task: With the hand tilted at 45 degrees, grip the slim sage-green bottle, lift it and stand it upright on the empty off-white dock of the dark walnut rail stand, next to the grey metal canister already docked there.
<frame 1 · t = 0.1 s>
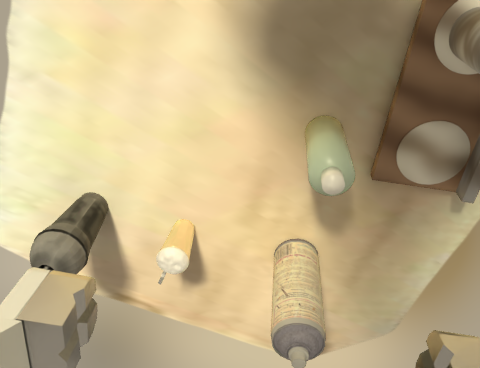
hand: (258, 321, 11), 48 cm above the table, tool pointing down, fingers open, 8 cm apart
rail stand: (447, 98, 56), on the table
aerosol can: (296, 255, 70), on the table
slim bottle: (324, 133, 59), on the table
milkshake: (183, 228, 69), on the table
beverage cup: (94, 204, 69), on the table
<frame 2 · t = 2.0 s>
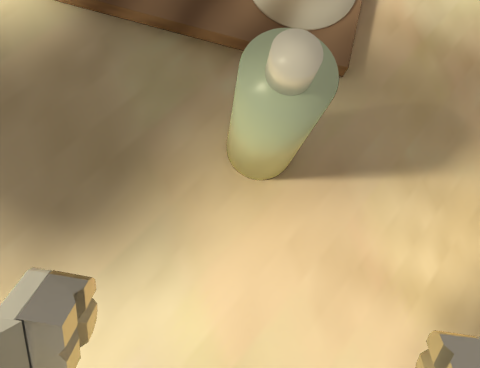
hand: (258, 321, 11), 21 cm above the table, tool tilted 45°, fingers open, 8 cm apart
slim bottle: (259, 147, 34), on the table
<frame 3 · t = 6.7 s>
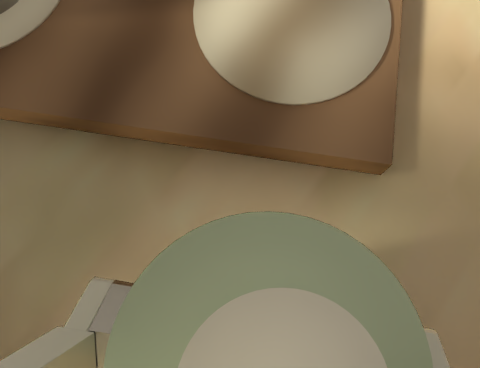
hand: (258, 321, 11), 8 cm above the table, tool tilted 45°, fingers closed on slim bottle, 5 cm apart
rail stand: (147, 14, 22), on the table
slim bottle: (246, 330, 18), on the table, touching gripper
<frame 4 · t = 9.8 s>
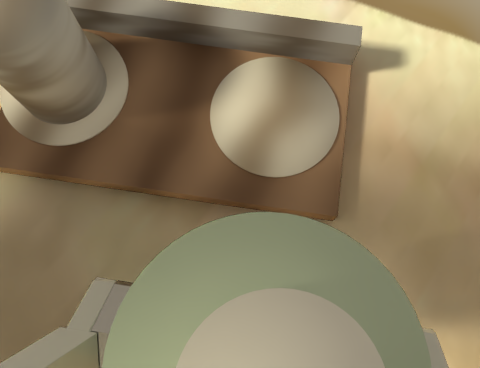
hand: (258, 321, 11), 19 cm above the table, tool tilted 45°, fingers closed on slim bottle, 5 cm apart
rail stand: (178, 110, 33), on the table
slim bottle: (246, 330, 18), point 11 cm above the table, touching gripper
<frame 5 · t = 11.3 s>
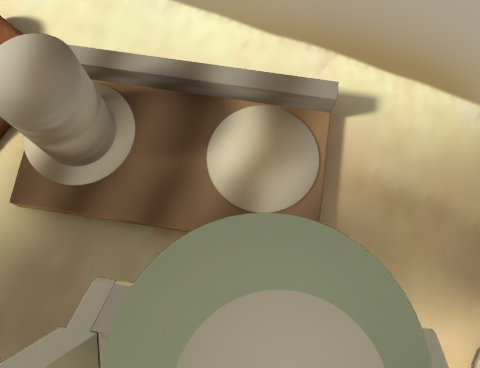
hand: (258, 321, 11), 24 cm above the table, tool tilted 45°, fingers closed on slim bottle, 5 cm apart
rail stand: (179, 151, 38), on the table
slim bottle: (246, 330, 18), point 16 cm above the table, touching gripper
when the fingers open (11 cm above the table, at t = 15.8 s): slim bottle drops 1 cm, resting on rail stand.
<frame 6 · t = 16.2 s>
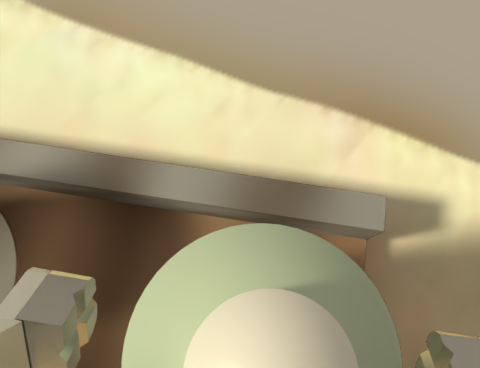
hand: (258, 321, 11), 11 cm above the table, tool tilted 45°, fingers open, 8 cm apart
rail stand: (99, 304, 21), on the table
slim bottle: (245, 329, 20), point 2 cm above the table, touching rail stand
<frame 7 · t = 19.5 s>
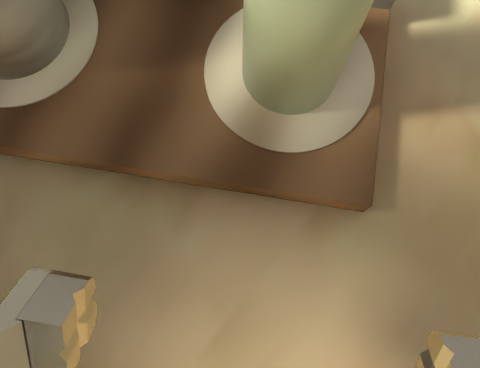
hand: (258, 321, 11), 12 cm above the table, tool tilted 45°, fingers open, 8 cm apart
rail stand: (164, 67, 25), on the table
slim bottle: (289, 70, 24), point 2 cm above the table, touching rail stand
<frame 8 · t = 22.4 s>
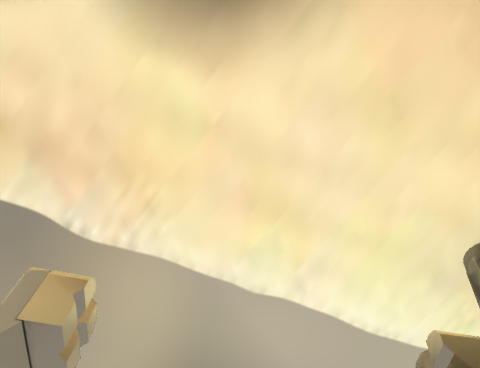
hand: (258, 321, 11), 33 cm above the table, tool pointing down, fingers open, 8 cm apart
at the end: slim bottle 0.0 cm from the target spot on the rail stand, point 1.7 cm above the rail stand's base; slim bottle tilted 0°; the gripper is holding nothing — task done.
